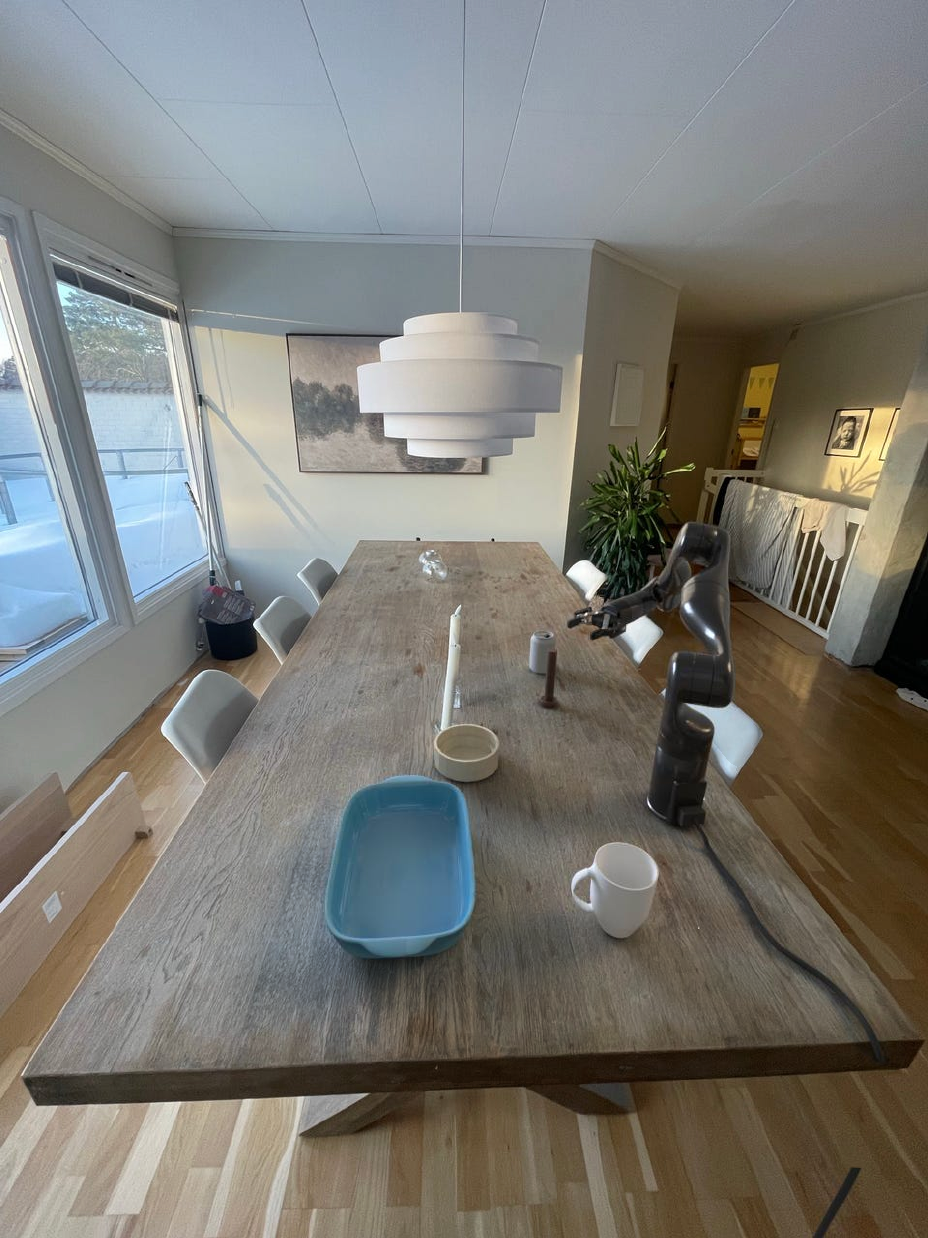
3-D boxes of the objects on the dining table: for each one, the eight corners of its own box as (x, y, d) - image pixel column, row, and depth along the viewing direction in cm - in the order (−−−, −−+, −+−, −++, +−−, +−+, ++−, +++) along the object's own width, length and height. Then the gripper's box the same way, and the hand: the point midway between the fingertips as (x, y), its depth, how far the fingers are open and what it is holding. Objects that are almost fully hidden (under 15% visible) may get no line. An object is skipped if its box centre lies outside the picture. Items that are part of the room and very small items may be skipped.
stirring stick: (558, 707, 137) (563, 653, 131) (543, 708, 136) (547, 654, 131) (553, 699, 141) (558, 646, 135) (538, 700, 140) (541, 647, 135)
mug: (638, 900, 82) (648, 841, 78) (655, 953, 74) (667, 891, 69) (564, 897, 82) (570, 839, 78) (573, 950, 74) (580, 888, 70)
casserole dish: (351, 804, 102) (349, 774, 99) (463, 799, 104) (464, 769, 101) (315, 998, 68) (309, 960, 65) (483, 986, 69) (484, 949, 67)
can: (553, 676, 154) (555, 639, 149) (527, 674, 155) (530, 637, 151) (554, 665, 160) (556, 630, 156) (529, 663, 162) (532, 628, 157)
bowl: (504, 780, 109) (505, 758, 107) (438, 786, 107) (437, 764, 105) (491, 741, 122) (491, 721, 120) (431, 746, 120) (431, 726, 118)
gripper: (604, 591, 146) (560, 609, 139) (644, 607, 135) (599, 628, 128) (603, 614, 149) (561, 633, 142) (642, 632, 138) (598, 653, 131)
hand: (579, 630), depth 135 cm, fingers open, 8 cm apart
